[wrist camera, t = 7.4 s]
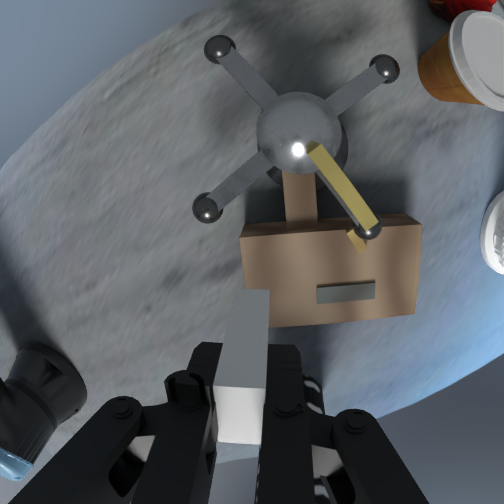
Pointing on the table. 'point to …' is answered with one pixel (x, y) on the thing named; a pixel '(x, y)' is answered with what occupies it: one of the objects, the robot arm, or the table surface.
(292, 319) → the walnut stand
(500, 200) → the decorative container
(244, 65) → the capstan
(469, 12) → the disposable coffee cup
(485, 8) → the red clay folk toy
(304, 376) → the spotted tube
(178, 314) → the table surface
